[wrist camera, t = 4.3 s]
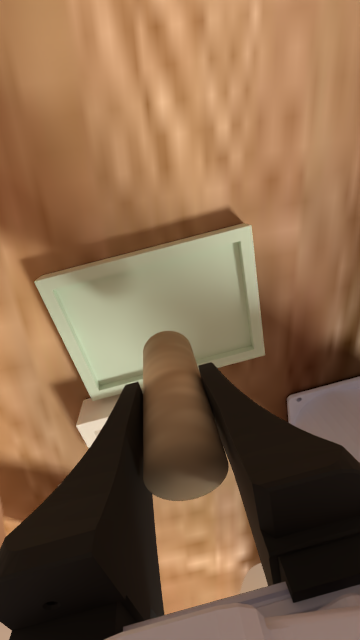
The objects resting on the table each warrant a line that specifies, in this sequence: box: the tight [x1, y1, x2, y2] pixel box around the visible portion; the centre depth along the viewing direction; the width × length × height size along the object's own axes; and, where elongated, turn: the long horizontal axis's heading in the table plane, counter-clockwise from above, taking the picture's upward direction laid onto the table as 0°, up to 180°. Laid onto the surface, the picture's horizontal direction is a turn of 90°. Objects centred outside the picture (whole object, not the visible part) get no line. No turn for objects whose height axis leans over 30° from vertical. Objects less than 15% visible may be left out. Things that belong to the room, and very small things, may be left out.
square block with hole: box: [76, 388, 143, 448], centre depth 23 cm, size 7×7×3 cm
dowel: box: [143, 331, 228, 501], centre depth 12 cm, size 3×3×8 cm
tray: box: [34, 223, 265, 401], centre depth 20 cm, size 14×10×1 cm
